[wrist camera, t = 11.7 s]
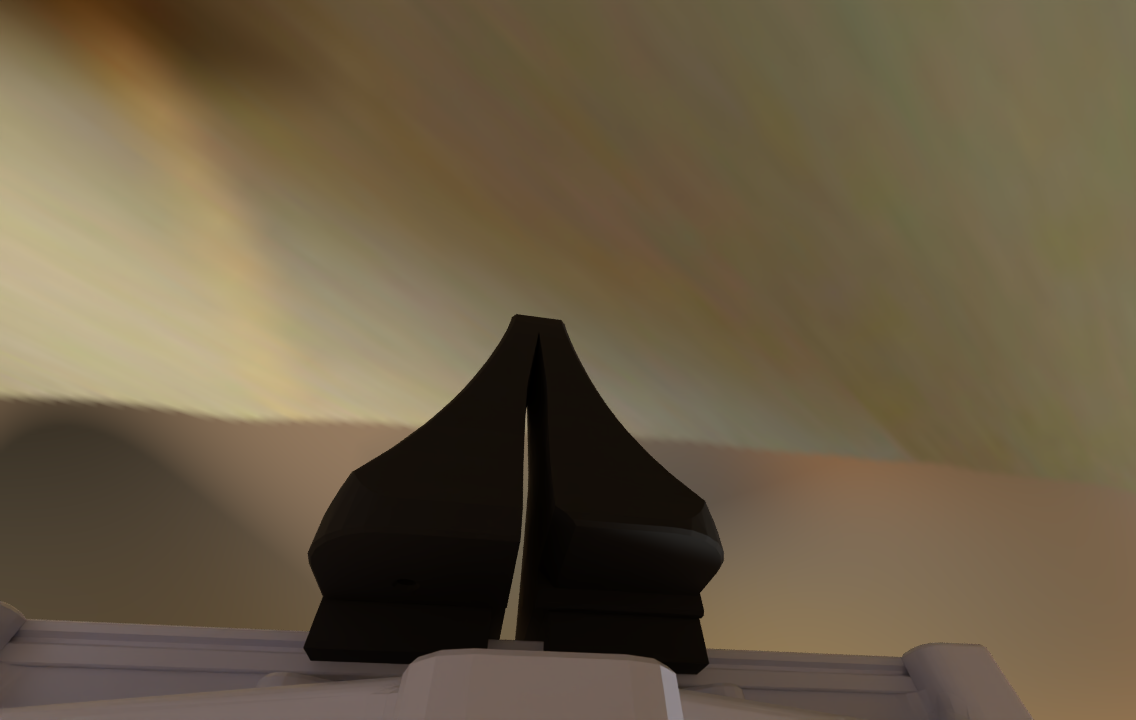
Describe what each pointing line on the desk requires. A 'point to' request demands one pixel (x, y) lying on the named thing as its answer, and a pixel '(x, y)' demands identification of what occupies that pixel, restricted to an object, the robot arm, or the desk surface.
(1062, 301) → the desk surface
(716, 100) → the desk surface
